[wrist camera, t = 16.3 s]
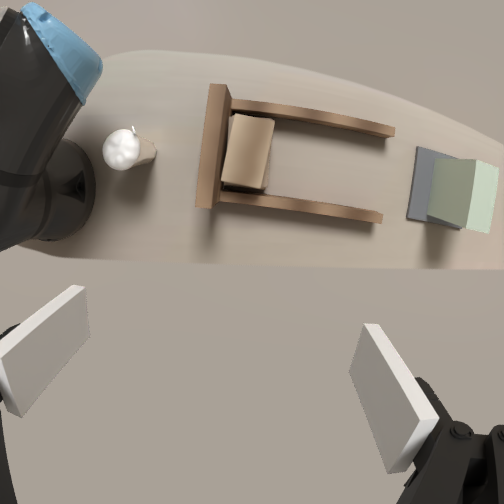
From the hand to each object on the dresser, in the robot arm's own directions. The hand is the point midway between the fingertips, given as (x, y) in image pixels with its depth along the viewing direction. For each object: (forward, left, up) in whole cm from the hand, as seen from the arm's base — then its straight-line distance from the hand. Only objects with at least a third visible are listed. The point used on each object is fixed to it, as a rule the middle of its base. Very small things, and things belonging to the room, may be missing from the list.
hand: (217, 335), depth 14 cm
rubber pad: (+16, +24, -29) cm, 40 cm away
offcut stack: (-6, +7, -29) cm, 30 cm away
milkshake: (-16, -2, -29) cm, 33 cm away
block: (+16, +24, -28) cm, 40 cm away
